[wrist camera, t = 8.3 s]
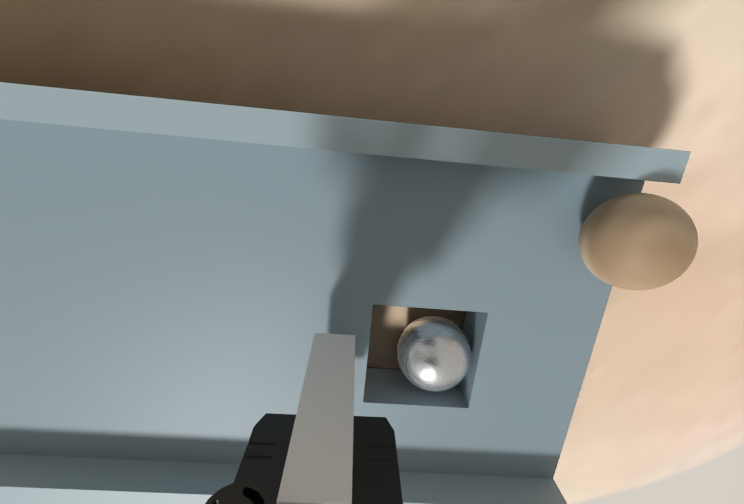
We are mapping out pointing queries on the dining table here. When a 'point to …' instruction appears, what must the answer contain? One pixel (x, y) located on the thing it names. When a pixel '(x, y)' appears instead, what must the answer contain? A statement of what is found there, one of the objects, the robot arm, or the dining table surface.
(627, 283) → the cork ball
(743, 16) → the dining table surface
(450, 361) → the steel ball
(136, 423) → the plate
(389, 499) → the robot arm
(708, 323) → the dining table surface
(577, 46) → the dining table surface
